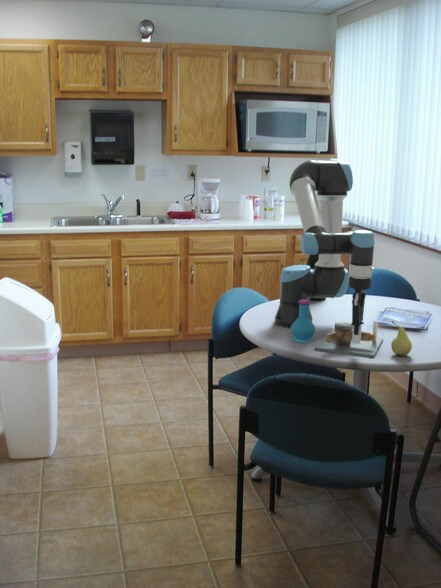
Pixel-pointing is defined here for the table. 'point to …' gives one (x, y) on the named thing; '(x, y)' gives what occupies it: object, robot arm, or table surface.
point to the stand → (352, 346)
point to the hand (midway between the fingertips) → (356, 342)
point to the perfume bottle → (303, 324)
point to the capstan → (346, 334)
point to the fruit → (401, 342)
